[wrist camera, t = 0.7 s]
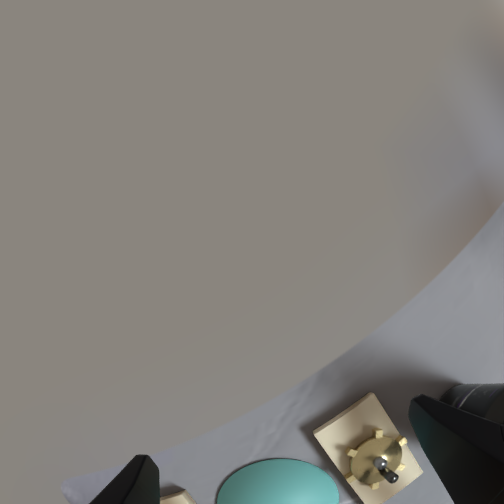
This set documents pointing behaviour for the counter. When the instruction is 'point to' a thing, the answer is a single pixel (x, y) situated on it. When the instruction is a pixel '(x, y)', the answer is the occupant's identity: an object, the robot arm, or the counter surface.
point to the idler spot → (279, 484)
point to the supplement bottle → (478, 400)
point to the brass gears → (375, 459)
